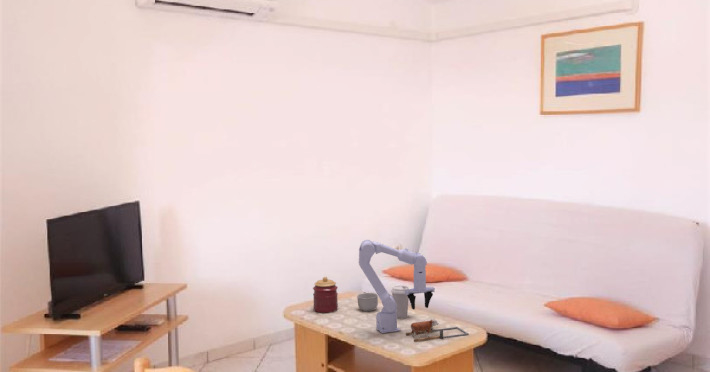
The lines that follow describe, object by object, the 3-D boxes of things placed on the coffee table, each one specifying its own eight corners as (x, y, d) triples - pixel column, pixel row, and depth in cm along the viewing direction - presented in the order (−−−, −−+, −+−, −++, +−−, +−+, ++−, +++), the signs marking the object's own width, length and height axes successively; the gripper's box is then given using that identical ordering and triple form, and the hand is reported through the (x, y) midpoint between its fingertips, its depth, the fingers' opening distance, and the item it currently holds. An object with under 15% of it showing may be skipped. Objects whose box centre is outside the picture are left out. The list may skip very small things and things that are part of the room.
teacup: (378, 312, 318) (377, 297, 318) (357, 312, 319) (356, 297, 318) (377, 305, 332) (377, 290, 332) (357, 305, 332) (357, 290, 332)
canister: (333, 314, 317) (332, 280, 316) (309, 312, 321) (309, 279, 319) (341, 307, 330) (340, 274, 328) (318, 305, 333) (317, 273, 332)
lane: (443, 338, 277) (443, 337, 277) (432, 331, 288) (432, 329, 287) (468, 334, 281) (468, 333, 281) (457, 327, 292) (457, 326, 292)
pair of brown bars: (415, 342, 272) (415, 333, 272) (404, 334, 284) (404, 325, 283) (443, 338, 277) (443, 330, 276) (431, 330, 288) (431, 322, 288)
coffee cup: (407, 320, 305) (407, 290, 304) (389, 318, 308) (388, 289, 307) (412, 314, 314) (412, 285, 313) (394, 313, 317) (393, 284, 316)
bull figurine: (439, 336, 280) (439, 319, 279) (412, 339, 276) (412, 322, 275) (435, 333, 284) (435, 316, 283) (408, 336, 280) (408, 319, 280)
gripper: (408, 283, 283) (409, 312, 285) (437, 280, 288) (437, 308, 289) (402, 279, 290) (403, 308, 291) (430, 277, 295) (431, 304, 296)
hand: (419, 308), depth 291 cm, fingers open, 6 cm apart
